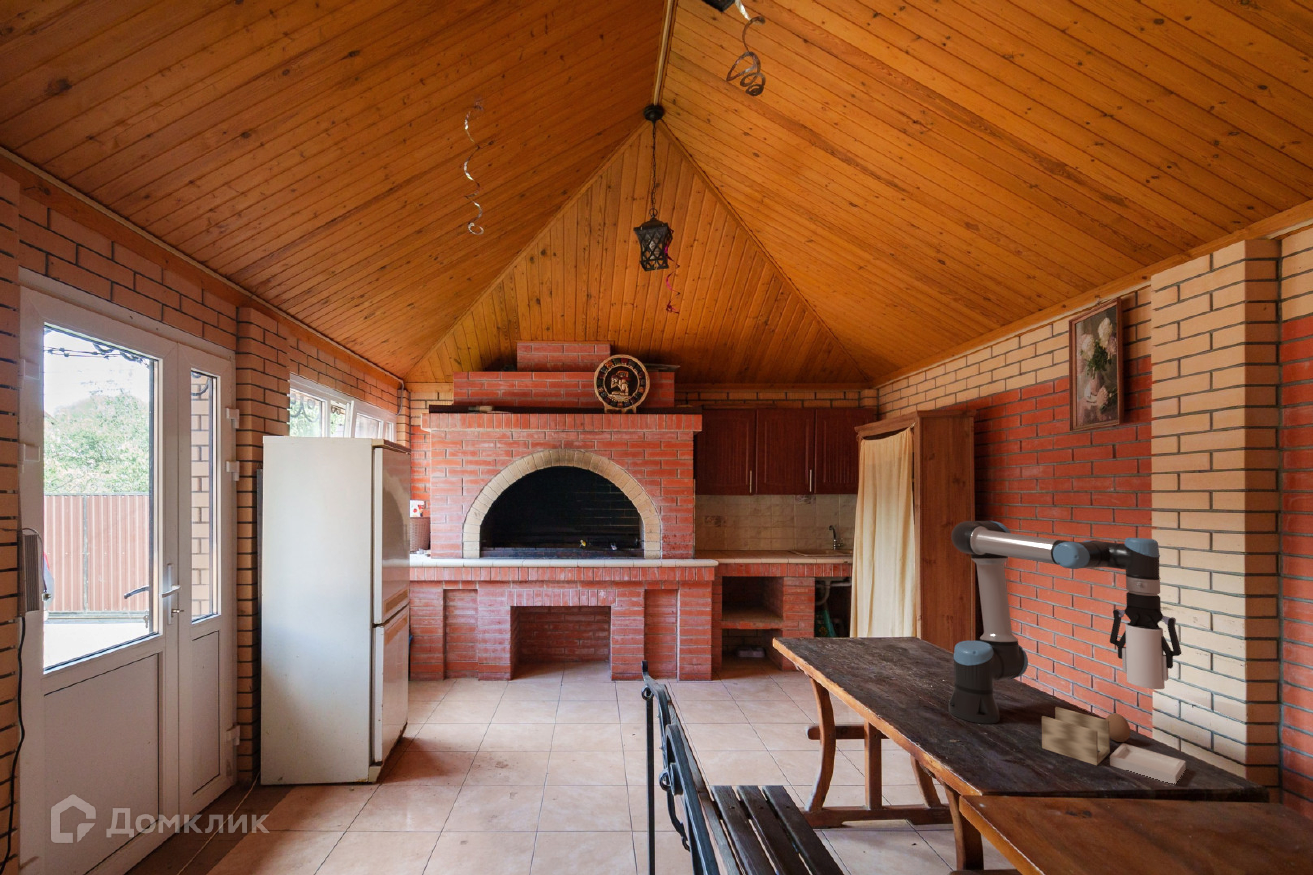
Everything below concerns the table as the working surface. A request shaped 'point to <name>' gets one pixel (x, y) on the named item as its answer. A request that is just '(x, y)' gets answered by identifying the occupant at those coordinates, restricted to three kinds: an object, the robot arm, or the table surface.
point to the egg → (1118, 727)
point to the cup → (1144, 657)
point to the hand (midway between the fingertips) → (1145, 675)
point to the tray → (1148, 763)
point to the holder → (1076, 735)
